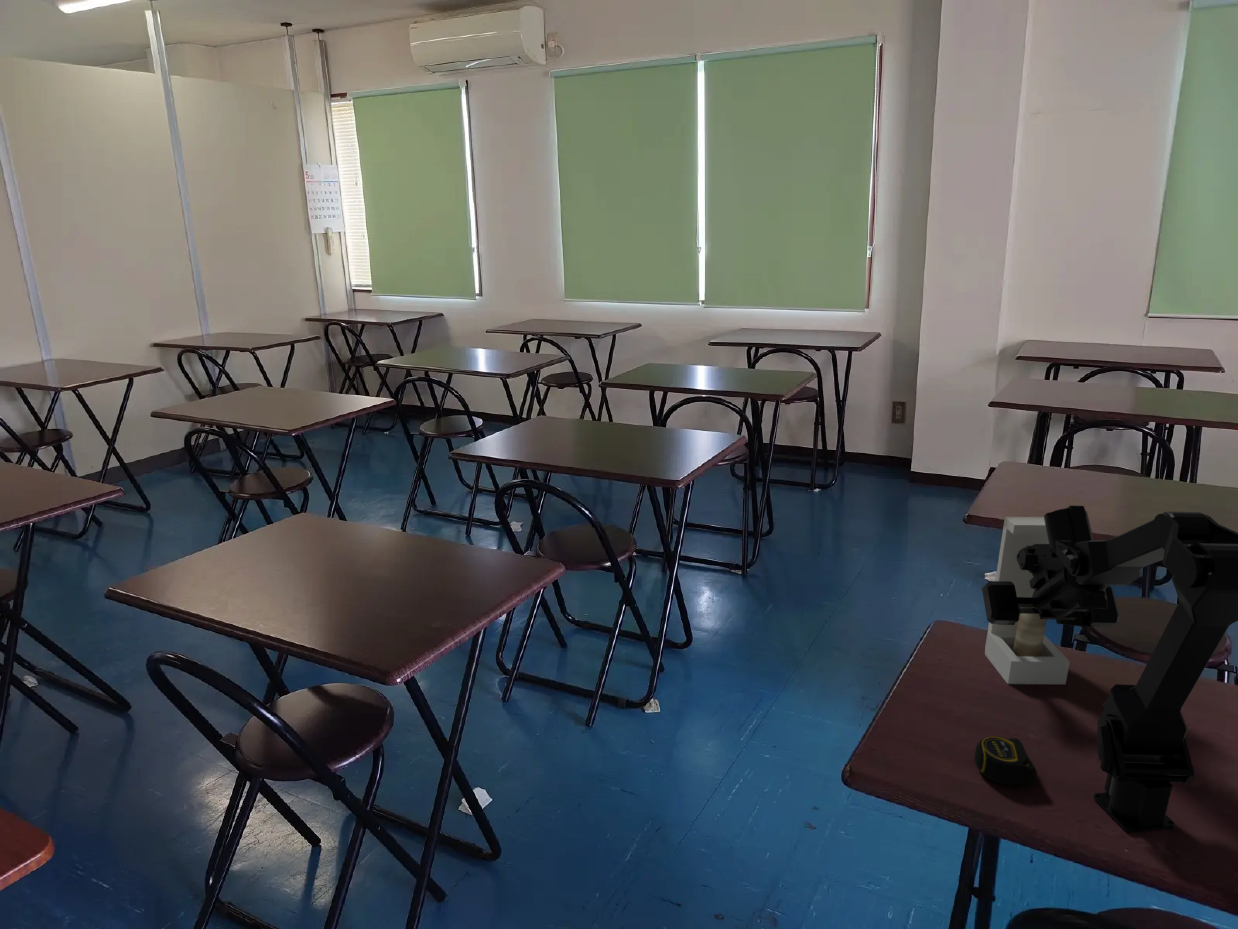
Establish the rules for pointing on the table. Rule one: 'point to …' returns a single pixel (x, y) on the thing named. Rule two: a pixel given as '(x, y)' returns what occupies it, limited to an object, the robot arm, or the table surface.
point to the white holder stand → (1002, 637)
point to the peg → (1029, 635)
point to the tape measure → (1004, 761)
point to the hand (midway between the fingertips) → (1027, 620)
